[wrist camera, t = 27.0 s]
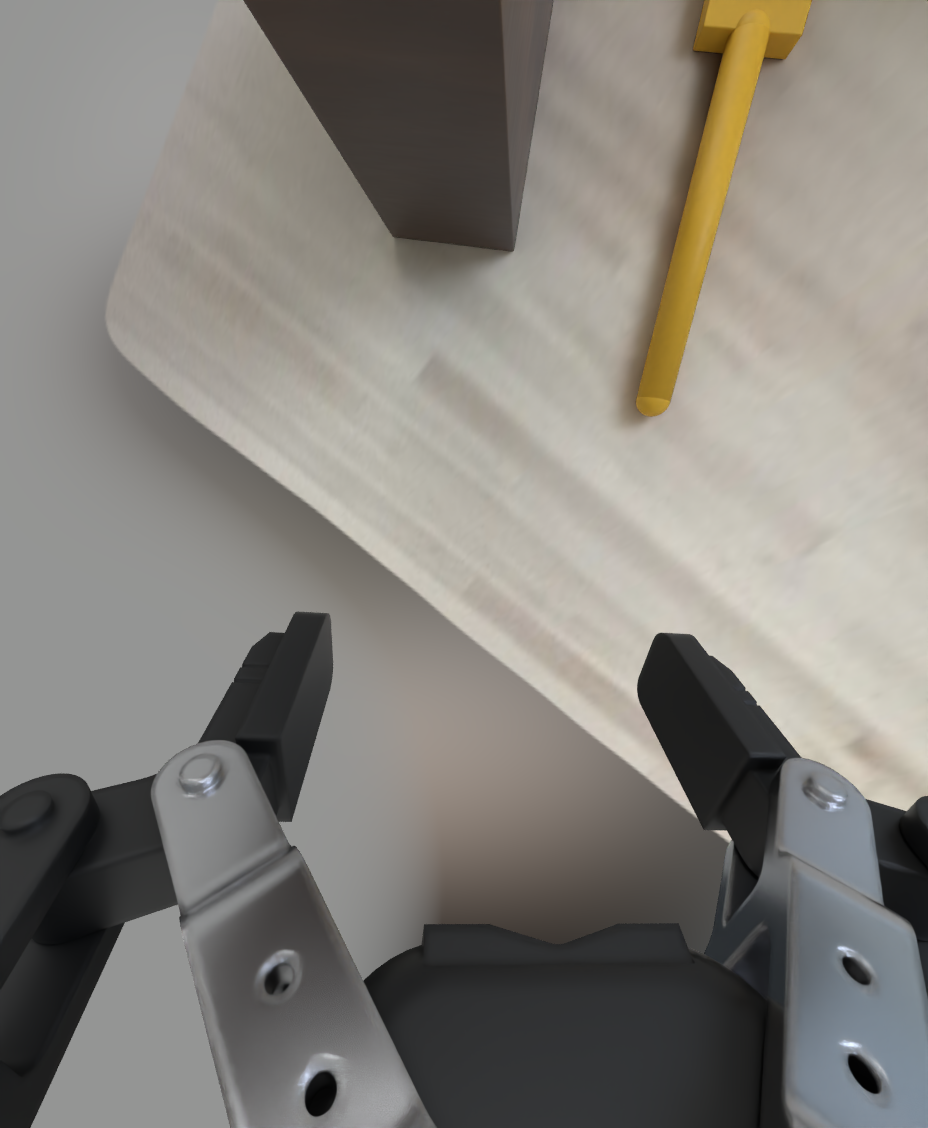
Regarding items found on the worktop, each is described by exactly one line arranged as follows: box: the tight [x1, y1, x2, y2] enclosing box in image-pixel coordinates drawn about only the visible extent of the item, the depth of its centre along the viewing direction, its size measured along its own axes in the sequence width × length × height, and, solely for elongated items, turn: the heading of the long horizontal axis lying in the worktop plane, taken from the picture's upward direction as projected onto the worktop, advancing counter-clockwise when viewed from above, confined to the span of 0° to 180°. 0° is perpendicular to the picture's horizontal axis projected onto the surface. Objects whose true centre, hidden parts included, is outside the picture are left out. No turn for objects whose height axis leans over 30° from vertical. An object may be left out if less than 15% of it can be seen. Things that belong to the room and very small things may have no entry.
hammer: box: [636, 0, 812, 417], centre depth 23 cm, size 23×4×2 cm, turn 171°
